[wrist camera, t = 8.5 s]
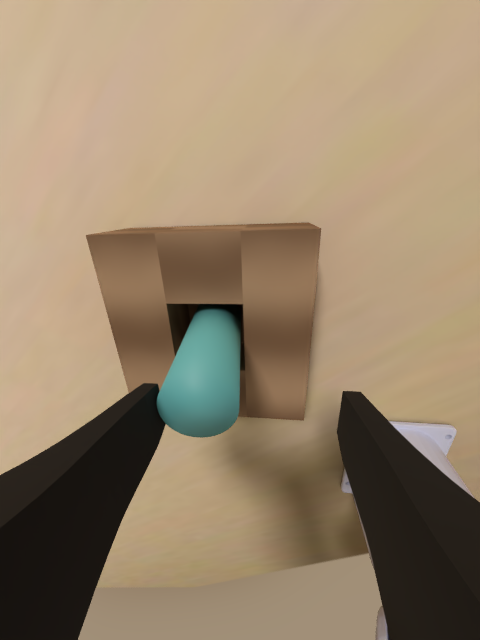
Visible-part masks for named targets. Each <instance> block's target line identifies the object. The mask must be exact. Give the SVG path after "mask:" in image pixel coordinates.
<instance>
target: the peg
mask: <svg viewBox="0 0 480 640" xmlns="http://www.w3.org/2000/svg"><path fill="white" fill-rule="evenodd" d="M240 344H241V312H240V309H239V307H238V305H237V304H199V305H198V308H197V310H196V312H195V314H194V316H193V319H192V321H191V323H190V325H189V327H188V330H187V332H186V334H185V336H184V338H183V341H182V343H181V345H180V347H179V350H178V352H177V354H176V356H175V358H174V361H173V363H172V365H171V367H170V369H169V372H168V374H167V376H166V378H165V381H164V383H163V385H162V387H161V389H160V392H159V394H158V397H157V409H158V412H159V415H160V417H161V418H162V420H163V421H164V422H165V423H166V424H167V425H168V426H169V427H171V428H172V429H173V430H175V431H177V432H179V433H181V434H184V435H187V436H192V437H211V436H215V435H218V434H221V433H223V432H224V431H226V430H227V429H229V428H230V427H231V426H232V425H233V424H234V423H235V421H236V419H237V417H238V414H239V399H240Z"/></svg>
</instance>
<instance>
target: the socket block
mask: <svg viewBox="0 0 480 640" xmlns="http://www.w3.org/2000/svg"><path fill="white" fill-rule="evenodd" d="M320 236H321V228H319V227H317V226H315V225H313V224H310V223H282V224H249V225H217V226H184V227H152V228H128V229H122V230H115V231H109V232H103V233H97V234H90V235H86V238H87V241H88V245H89V248H90V252H91V256H92V259H93V263H94V267H95V270H96V274H97V278H98V281H99V285H100V289H101V292H102V296H103V300H104V303H105V307H106V311H107V314H108V318H109V322H110V325H111V329H112V333H113V336H114V340H115V344H116V347H117V351H118V355H119V358H120V362H121V365H122V369H123V373H124V376H125V380H126V384H127V387H128V391H129V393H130V392H131V391H133V390H134V389H136V388H137V387H139V386H140V385H142V384H143V383H156V384H158V386H159V391H160V389H161V387H162V385H163V383H164V381H165V378H166V376H167V374H168V372H169V369H170V367H171V365H172V363H173V361H174V358H175V356H176V354H177V352H178V350H179V347H180V345H181V343H182V341H183V338H184V336H185V334H186V332H187V330H188V327H189V325H190V323H191V321H192V319H193V316H194V314H195V312H196V310H197V308H198V305H199V304H237V305H238V307H239V309H240V312H241V344H240V399H239V414H238V416H241V417H257V418H273V419H289V420H304V413H305V402H306V391H307V380H308V369H309V358H310V347H311V336H312V325H313V313H314V302H315V291H316V280H317V269H318V258H319V247H320Z"/></svg>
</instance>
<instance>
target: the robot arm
mask: <svg viewBox="0 0 480 640" xmlns="http://www.w3.org/2000/svg"><path fill="white" fill-rule="evenodd" d="M159 392H160V391H159V386H158V384H156V383H143V384H142V385H140V386H139V387H137V388H136V389H134V390H133V391H131V392H130V393H129V394H127V395H126V396H125V397H123V398H122V399H120V400H119V401H118V402H116V403H115V404H114V405H112V406H111V407H109V408H108V409H107V410H105V411H104V412H102V413H101V414H100V415H98V416H97V417H96V418H94V419H93V420H91V421H90V422H88V423H87V424H85V425H84V426H82V427H81V428H79V429H78V430H76V431H75V432H73V433H72V434H70V435H69V436H67V437H66V438H64V439H63V440H61V441H60V442H58V443H56V444H55V445H53V446H51V447H50V448H48V449H47V450H45V451H43V452H41V453H40V454H38V455H36V456H35V457H33V458H31V459H29V460H28V461H26V462H24V463H22V464H20V465H19V466H17V467H15V468H13V469H11V470H9V471H7V472H5V473H3V474H1V475H0V640H78V637H79V634H80V631H81V628H82V626H83V623H84V620H85V617H86V614H87V611H88V608H89V606H90V603H91V600H92V597H93V594H94V591H95V588H96V586H97V583H98V580H99V578H100V575H101V572H102V570H103V567H104V564H105V562H106V559H107V556H108V554H109V551H110V549H111V546H112V544H113V541H114V539H115V536H116V534H117V531H118V528H119V526H120V523H121V521H122V519H123V517H124V514H125V512H126V510H127V508H128V506H129V504H130V502H131V500H132V498H133V496H134V493H135V491H136V489H137V487H138V485H139V483H140V481H141V479H142V477H143V475H144V473H145V471H146V469H147V467H148V465H149V463H150V461H151V459H152V457H153V455H154V453H155V451H156V449H157V447H158V444H159V441H160V439H161V436H162V433H163V430H164V427H165V424H166V423H165V422H164V421H163V420H162V418H161V417H160V415H159V412H158V409H157V397H158V394H159ZM456 432H457V431H456V429H455V428H454V427H453V426H452V425H443V424H427V423H411V422H394V421H388V420H387V419H386V418H385V417H384V416H383V415H382V414H381V413H380V412H379V411H378V410H377V409H376V408H375V407H374V405H373V404H372V403H371V402H370V401H369V400H368V399H367V398H366V397H365V396H364V395H363V394H362V393H361V392H352V391H343V394H342V401H341V408H340V415H339V422H338V428H337V435H338V440H339V446H340V451H341V455H342V460H343V464H344V467H345V468H344V473H343V478H342V483H341V489H342V491H343V492H345V493H352V494H353V497H354V501H355V504H356V508H357V512H358V515H359V519H360V523H361V526H362V530H363V533H364V537H365V541H366V544H367V548H368V552H369V555H370V559H371V562H372V565H373V567H374V570H375V574H376V578H377V583H378V587H379V591H380V596H381V600H382V605H383V606H381V607H380V609H379V611H378V616H377V627H376V640H480V502H478V501H477V500H476V499H475V498H474V496H473V495H472V493H471V492H470V491H469V489H468V488H467V486H466V485H465V483H464V482H463V480H462V479H461V477H460V476H459V475H458V473H457V472H456V470H455V469H454V467H453V466H452V464H451V463H450V462H449V460H448V459H447V457H446V455H447V453H448V451H449V448H450V446H451V444H452V442H453V439H454V437H455V435H456Z"/></svg>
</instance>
